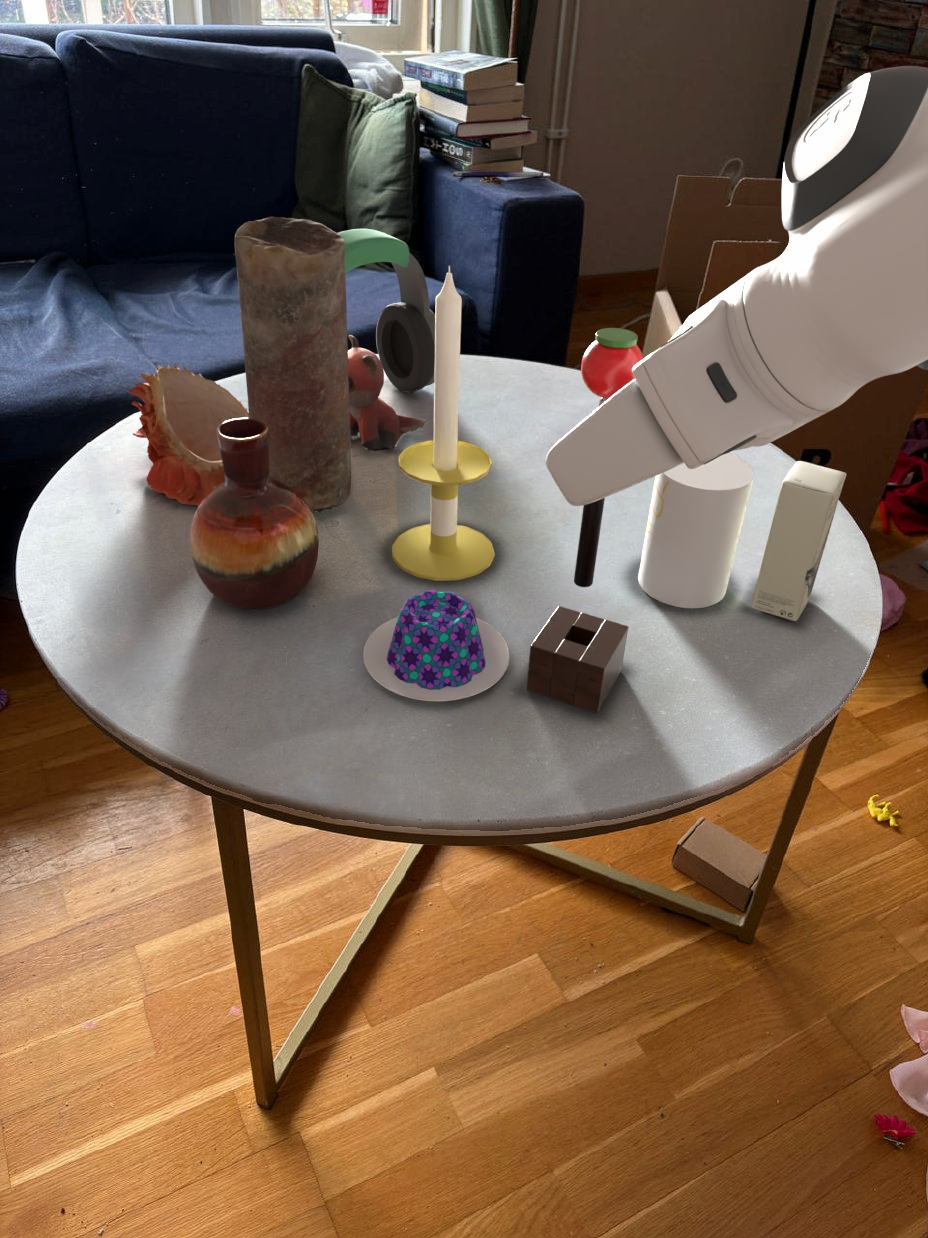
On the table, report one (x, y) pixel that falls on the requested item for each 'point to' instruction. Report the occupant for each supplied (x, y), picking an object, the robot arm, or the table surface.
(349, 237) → the headphones
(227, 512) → the vase
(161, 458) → the seashell
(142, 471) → the table surface
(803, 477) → the box
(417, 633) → the pudding
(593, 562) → the joystick
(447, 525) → the candle
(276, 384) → the brown textured cylinder
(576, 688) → the block
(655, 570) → the white cylinder
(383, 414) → the stuffed fox
